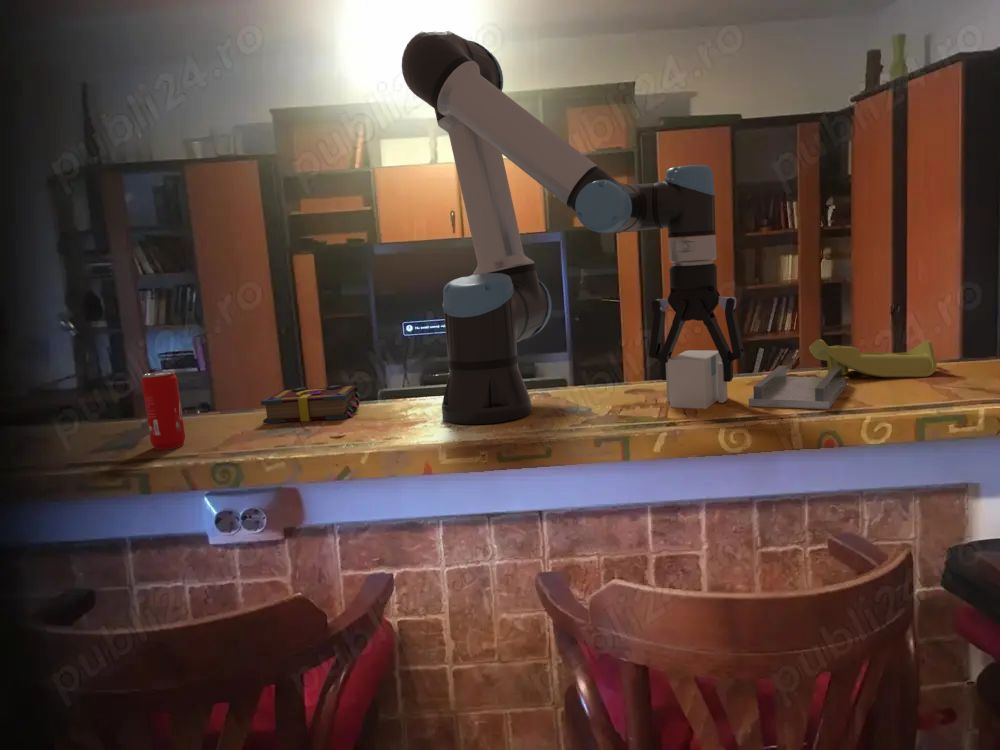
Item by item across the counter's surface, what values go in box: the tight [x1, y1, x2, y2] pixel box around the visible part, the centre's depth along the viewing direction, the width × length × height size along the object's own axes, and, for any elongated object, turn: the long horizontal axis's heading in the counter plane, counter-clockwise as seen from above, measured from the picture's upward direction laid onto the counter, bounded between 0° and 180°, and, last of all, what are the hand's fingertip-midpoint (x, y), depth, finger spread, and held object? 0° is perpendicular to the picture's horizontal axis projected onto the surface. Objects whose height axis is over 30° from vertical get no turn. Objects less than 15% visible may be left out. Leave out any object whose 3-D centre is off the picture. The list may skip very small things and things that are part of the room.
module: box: [668, 349, 722, 410], centre depth 131 cm, size 6×10×8 cm, turn 149°
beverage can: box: [141, 370, 186, 451], centre depth 126 cm, size 5×5×12 cm
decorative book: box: [260, 384, 361, 424], centre depth 144 cm, size 11×16×5 cm
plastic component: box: [809, 339, 937, 378], centre depth 144 cm, size 20×7×10 cm
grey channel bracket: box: [748, 365, 848, 410], centre depth 131 cm, size 12×20×3 cm, turn 149°
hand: (697, 399), depth 132 cm, fingers open, 8 cm apart
